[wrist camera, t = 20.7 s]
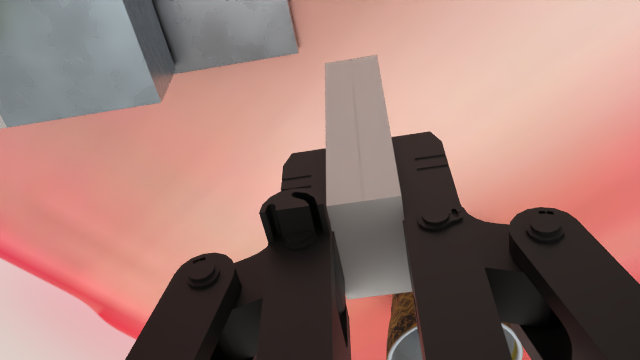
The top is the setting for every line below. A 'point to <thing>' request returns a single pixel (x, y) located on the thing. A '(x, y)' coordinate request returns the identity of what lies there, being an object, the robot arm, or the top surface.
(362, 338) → the top surface
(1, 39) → the free jaw
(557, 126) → the top surface
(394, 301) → the ceramic cup
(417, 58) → the top surface
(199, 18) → the vise
